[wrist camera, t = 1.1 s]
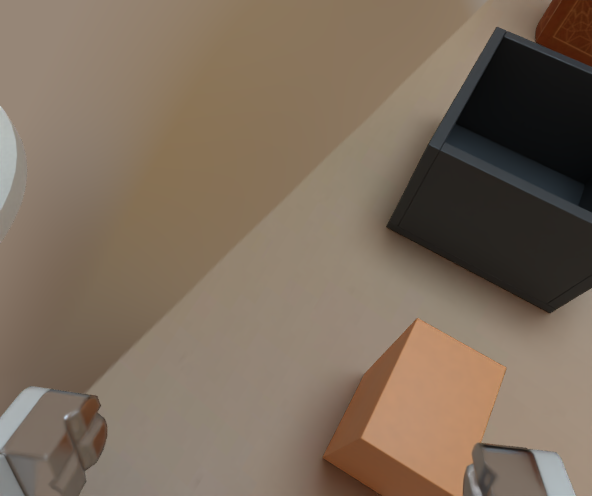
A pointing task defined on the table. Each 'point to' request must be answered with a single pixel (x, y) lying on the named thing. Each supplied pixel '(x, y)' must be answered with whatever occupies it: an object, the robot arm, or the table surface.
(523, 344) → the table surface
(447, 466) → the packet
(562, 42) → the book
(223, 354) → the table surface
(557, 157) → the waste bin
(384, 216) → the table surface
